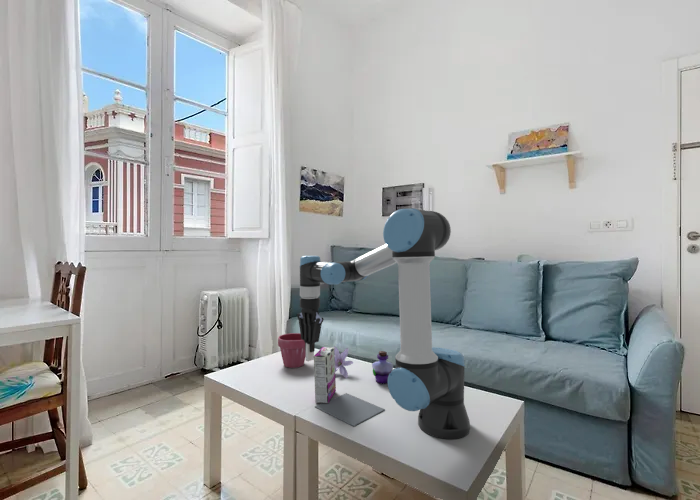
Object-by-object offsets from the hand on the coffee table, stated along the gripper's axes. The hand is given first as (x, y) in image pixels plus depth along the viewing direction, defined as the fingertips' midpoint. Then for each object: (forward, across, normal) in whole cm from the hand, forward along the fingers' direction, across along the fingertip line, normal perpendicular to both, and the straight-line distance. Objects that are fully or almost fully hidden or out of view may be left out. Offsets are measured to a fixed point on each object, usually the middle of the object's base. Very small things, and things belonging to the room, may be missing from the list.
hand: (309, 360), depth 133 cm
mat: (+11, -21, 0) cm, 24 cm away
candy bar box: (+11, -9, 0) cm, 15 cm away
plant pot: (+12, +27, -13) cm, 32 cm away
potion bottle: (+12, -14, -26) cm, 32 cm away
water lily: (+12, +5, -19) cm, 23 cm away
